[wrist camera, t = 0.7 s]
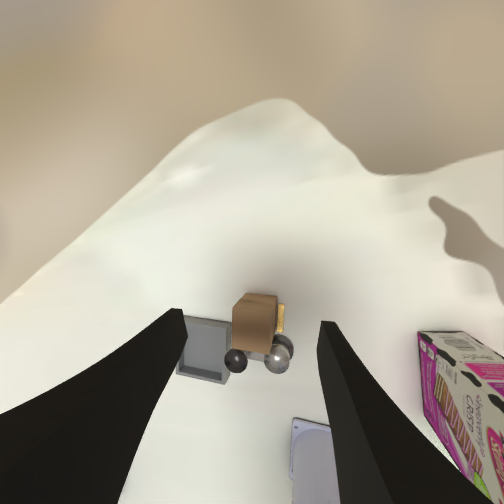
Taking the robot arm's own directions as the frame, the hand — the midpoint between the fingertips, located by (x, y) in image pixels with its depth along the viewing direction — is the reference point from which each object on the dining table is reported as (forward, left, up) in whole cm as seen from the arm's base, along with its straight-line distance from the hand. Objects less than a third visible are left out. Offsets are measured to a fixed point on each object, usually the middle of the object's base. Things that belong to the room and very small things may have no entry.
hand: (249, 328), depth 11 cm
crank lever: (-11, +2, -17) cm, 21 cm away
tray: (-13, +11, -18) cm, 25 cm away
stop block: (-6, +3, -18) cm, 19 cm away
